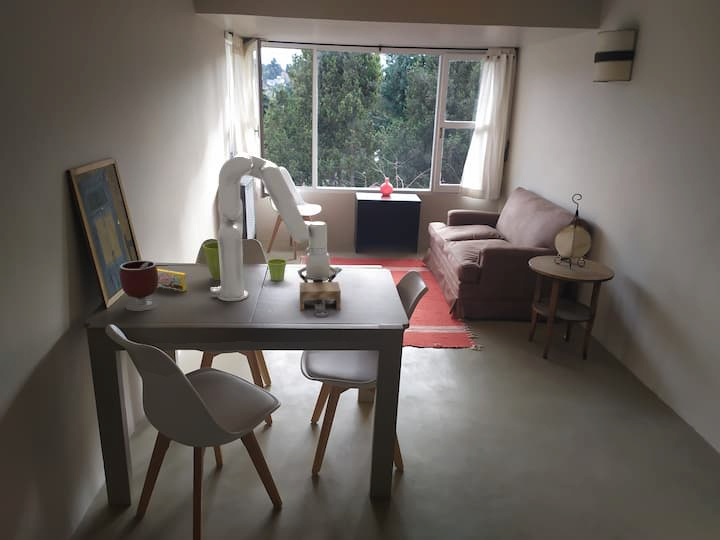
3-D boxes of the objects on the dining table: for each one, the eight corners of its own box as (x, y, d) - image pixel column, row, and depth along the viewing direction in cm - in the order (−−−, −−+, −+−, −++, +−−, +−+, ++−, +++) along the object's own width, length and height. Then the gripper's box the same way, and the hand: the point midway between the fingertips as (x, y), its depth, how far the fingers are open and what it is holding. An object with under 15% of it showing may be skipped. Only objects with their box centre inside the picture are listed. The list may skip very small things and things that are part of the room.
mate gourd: (116, 306, 214) (111, 257, 209) (149, 297, 225) (145, 251, 219) (136, 316, 205) (130, 265, 199) (169, 306, 215) (165, 258, 209)
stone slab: (306, 282, 255) (325, 282, 251) (305, 276, 254) (324, 276, 250) (326, 271, 275) (344, 270, 271) (325, 265, 274) (343, 265, 271)
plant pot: (291, 278, 255) (291, 260, 252) (278, 283, 247) (278, 265, 245) (276, 275, 260) (276, 257, 257) (263, 279, 252) (262, 261, 249)
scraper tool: (314, 309, 216) (314, 292, 214) (312, 292, 236) (312, 277, 234) (324, 309, 216) (325, 292, 214) (322, 292, 236) (322, 277, 234)
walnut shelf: (300, 310, 214) (300, 291, 211) (299, 300, 225) (299, 282, 223) (340, 310, 216) (340, 291, 213) (338, 300, 227) (338, 281, 225)
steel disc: (314, 318, 207) (314, 314, 207) (314, 313, 212) (314, 309, 212) (327, 318, 208) (328, 314, 207) (327, 313, 213) (327, 309, 212)
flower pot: (223, 271, 263) (221, 239, 259) (244, 277, 255) (243, 244, 250) (198, 278, 251) (196, 245, 247) (219, 285, 243) (217, 250, 239)
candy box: (154, 287, 238) (152, 269, 236) (157, 286, 240) (156, 268, 238) (183, 292, 233) (182, 274, 230) (187, 291, 234) (185, 272, 232)
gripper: (297, 253, 224) (298, 292, 229) (339, 252, 226) (338, 291, 231) (297, 248, 231) (297, 286, 236) (337, 248, 233) (337, 286, 238)
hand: (318, 289), depth 233 cm, fingers open, 9 cm apart
